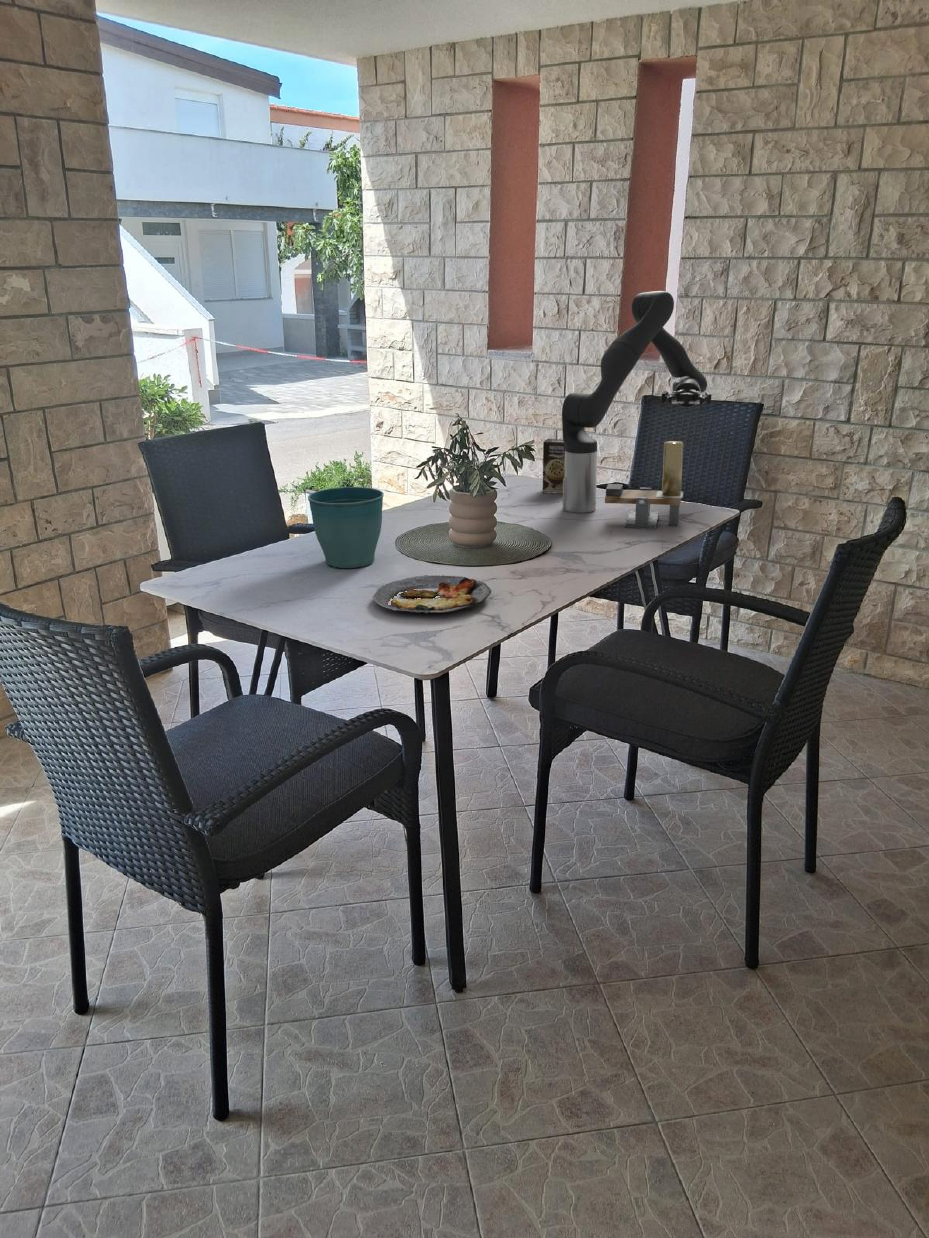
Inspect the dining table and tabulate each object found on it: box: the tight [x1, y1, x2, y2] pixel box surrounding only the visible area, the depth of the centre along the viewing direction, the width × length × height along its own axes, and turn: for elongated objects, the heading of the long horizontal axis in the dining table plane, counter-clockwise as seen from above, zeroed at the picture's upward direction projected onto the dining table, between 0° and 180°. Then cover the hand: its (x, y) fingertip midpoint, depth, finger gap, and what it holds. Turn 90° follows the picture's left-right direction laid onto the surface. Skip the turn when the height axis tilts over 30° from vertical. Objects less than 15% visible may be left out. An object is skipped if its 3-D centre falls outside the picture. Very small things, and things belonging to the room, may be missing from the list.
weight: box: [661, 440, 684, 496], centre depth 252 cm, size 5×5×14 cm
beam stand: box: [625, 487, 681, 530], centre depth 257 cm, size 14×14×8 cm
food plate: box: [372, 574, 492, 615], centre depth 202 cm, size 25×23×4 cm
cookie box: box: [542, 438, 565, 494], centre depth 293 cm, size 9×6×16 cm
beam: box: [604, 483, 684, 506], centre depth 256 cm, size 20×10×4 cm, turn 75°
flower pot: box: [307, 486, 384, 569], centre depth 227 cm, size 18×18×17 cm
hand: (685, 400), depth 267 cm, fingers open, 8 cm apart
